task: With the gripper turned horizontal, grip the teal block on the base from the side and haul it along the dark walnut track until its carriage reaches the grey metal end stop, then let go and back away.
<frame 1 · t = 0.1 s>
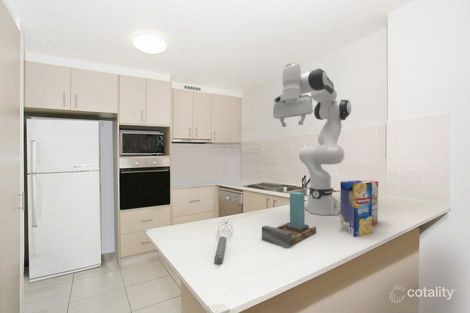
hand: (292, 125, 109), 48 cm above the worktop, tool pointing down, fingers open, 8 cm apart
teal block on base: (297, 210, 97), point 9 cm above the worktop, slide at 0.0 cm
kitchen whisk: (224, 245, 85), on the worktop
cracker box: (366, 225, 108), on the worktop
track: (291, 235, 94), on the worktop
beverage box: (356, 232, 97), on the worktop
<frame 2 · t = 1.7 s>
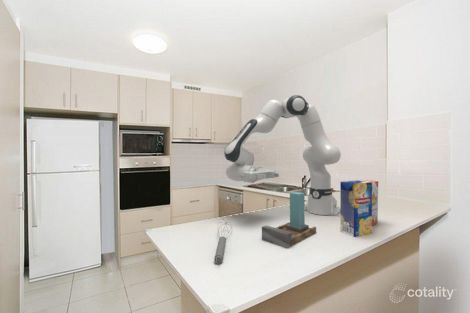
hand: (272, 175, 107), 24 cm above the worktop, tool horizontal, fingers open, 8 cm apart
nothing on the worktop moved.
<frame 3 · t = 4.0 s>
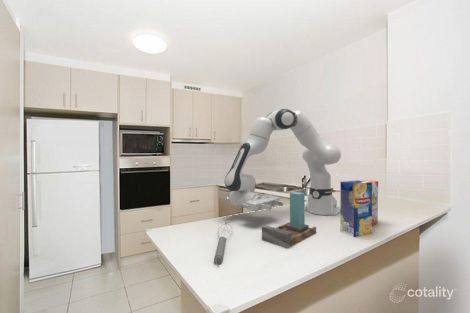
hand: (276, 205, 105), 10 cm above the worktop, tool horizontal, fingers open, 8 cm apart
nothing on the worktop moved.
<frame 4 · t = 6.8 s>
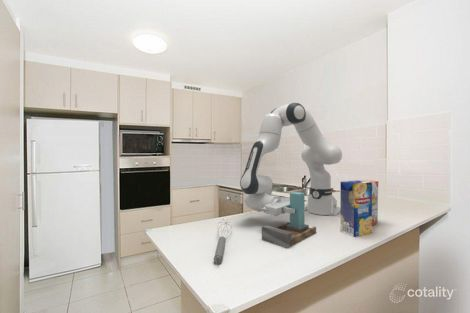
hand: (299, 209, 97), 10 cm above the worktop, tool horizontal, fingers closed on teal block on base, 4 cm apart
teal block on base: (297, 210, 97), point 9 cm above the worktop, slide at 0.0 cm, touching gripper
everything else where it was.
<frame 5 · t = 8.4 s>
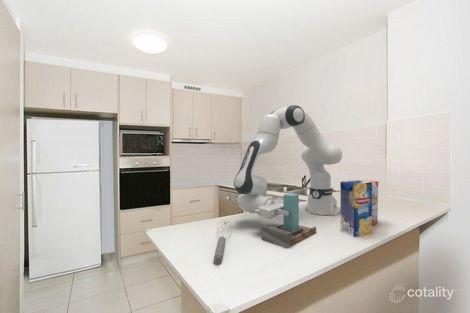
hand: (292, 212, 93), 10 cm above the worktop, tool horizontal, fingers closed on teal block on base, 4 cm apart
teal block on base: (291, 213, 94), point 9 cm above the worktop, slide at 5.0 cm, touching gripper
everything else where it was.
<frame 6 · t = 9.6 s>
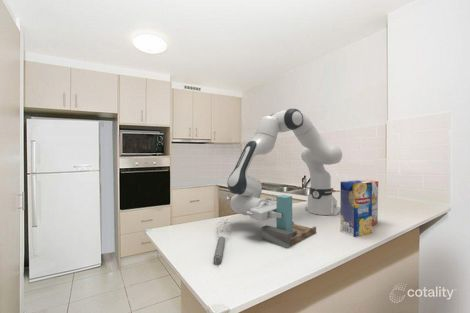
hand: (286, 214, 90), 10 cm above the worktop, tool horizontal, fingers closed on teal block on base, 4 cm apart
teal block on base: (284, 215, 90), point 9 cm above the worktop, slide at 10.0 cm, touching gripper
everything else where it was.
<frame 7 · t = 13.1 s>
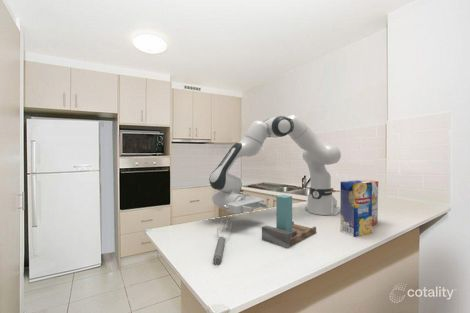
hand: (259, 207, 100), 10 cm above the worktop, tool horizontal, fingers open, 8 cm apart
teal block on base: (284, 215, 90), point 9 cm above the worktop, slide at 10.0 cm
everything else where it was.
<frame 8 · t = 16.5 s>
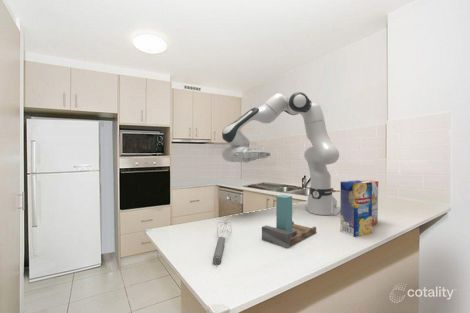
hand: (264, 154, 115), 34 cm above the worktop, tool horizontal, fingers open, 8 cm apart
nothing on the worktop moved.
at the end: teal block on base slide at 10.0 cm; the gripper is holding nothing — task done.
